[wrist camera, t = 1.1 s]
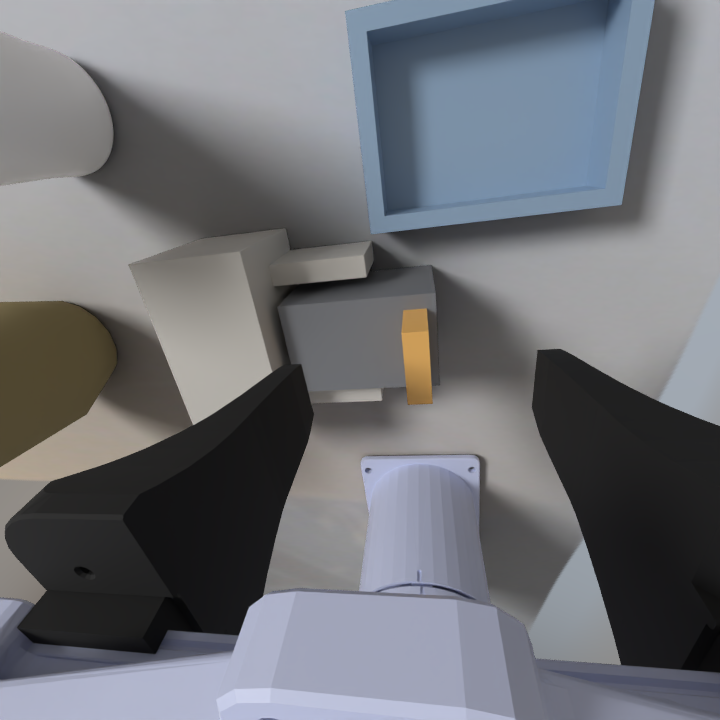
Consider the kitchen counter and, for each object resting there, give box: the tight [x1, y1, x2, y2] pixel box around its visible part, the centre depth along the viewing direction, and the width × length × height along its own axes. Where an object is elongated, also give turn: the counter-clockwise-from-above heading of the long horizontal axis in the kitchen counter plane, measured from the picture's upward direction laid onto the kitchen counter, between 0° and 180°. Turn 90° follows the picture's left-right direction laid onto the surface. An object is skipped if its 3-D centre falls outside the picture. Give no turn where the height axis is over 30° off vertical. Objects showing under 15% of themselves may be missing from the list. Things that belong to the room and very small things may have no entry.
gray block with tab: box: [277, 265, 440, 405], centre depth 19 cm, size 7×4×8 cm, turn 98°
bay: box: [129, 228, 384, 425], centre depth 20 cm, size 10×10×6 cm
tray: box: [345, 0, 655, 234], centre depth 16 cm, size 8×10×2 cm
